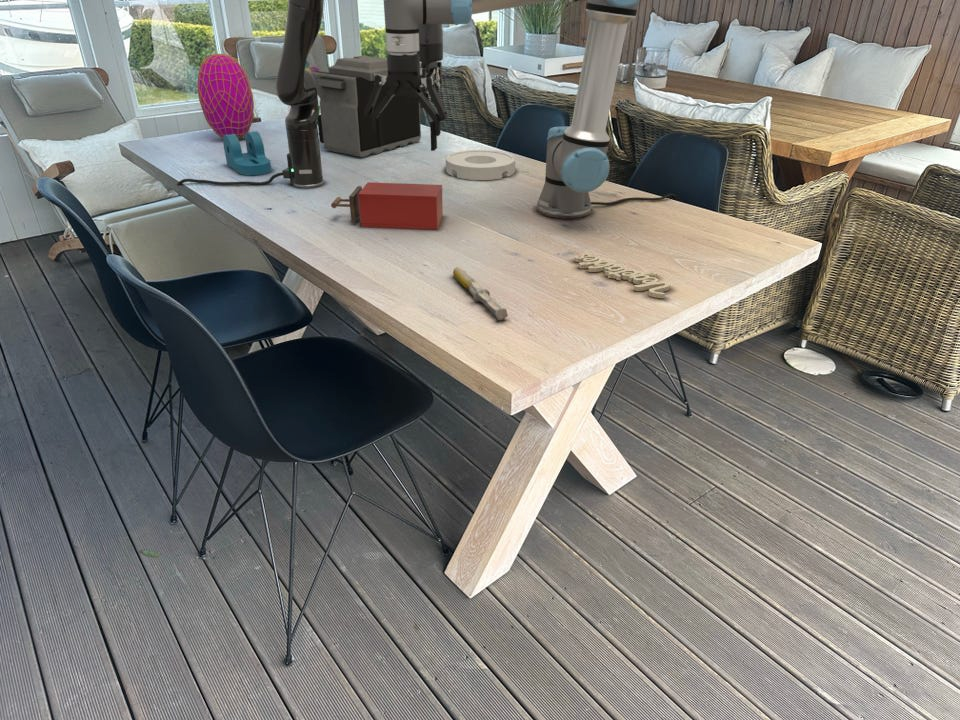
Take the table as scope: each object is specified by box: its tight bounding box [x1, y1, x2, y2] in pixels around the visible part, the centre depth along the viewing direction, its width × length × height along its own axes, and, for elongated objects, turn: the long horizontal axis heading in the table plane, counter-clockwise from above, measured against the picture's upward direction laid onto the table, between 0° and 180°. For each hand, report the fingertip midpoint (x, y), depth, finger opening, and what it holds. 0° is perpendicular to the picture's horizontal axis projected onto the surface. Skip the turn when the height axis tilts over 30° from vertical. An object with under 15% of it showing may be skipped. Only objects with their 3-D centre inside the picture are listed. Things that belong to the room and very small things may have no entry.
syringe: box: [452, 266, 509, 321], centre depth 145 cm, size 25×4×3 cm, turn 21°
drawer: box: [330, 185, 363, 223], centre depth 184 cm, size 25×9×7 cm, turn 85°
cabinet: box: [358, 181, 444, 231], centre depth 183 cm, size 20×11×9 cm, turn 85°
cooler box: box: [311, 55, 422, 159], centre depth 250 cm, size 37×22×30 cm, turn 144°
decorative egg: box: [197, 53, 255, 140], centre depth 258 cm, size 19×19×30 cm
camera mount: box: [222, 131, 272, 176], centre depth 226 cm, size 18×10×10 cm, turn 35°
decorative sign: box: [574, 252, 671, 299], centre depth 155 cm, size 26×1×10 cm
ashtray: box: [445, 149, 516, 181], centre depth 229 cm, size 23×23×4 cm
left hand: (429, 105), depth 190 cm, fingers open, 8 cm apart
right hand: (407, 147), depth 168 cm, fingers open, 13 cm apart
